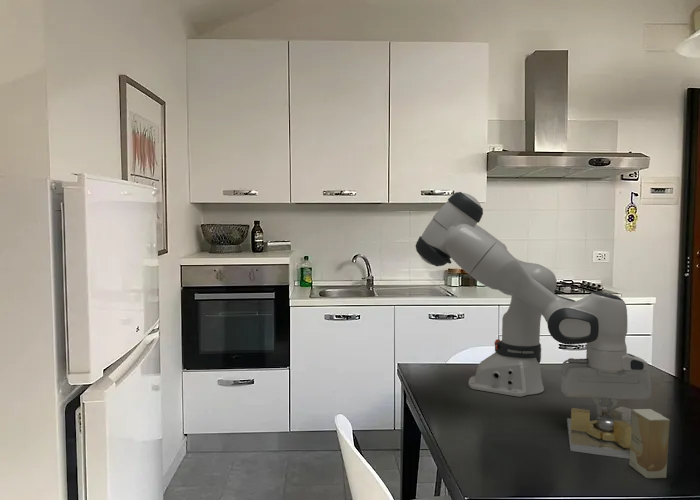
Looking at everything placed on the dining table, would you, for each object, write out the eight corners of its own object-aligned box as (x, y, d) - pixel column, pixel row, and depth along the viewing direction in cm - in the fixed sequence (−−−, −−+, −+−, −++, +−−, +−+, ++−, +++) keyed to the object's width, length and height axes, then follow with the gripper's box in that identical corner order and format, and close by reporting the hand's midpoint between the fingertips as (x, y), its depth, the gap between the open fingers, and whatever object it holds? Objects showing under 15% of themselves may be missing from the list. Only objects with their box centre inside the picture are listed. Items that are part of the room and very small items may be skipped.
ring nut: (572, 441, 122) (573, 421, 122) (569, 418, 136) (569, 400, 136) (640, 449, 117) (641, 429, 117) (629, 425, 131) (630, 407, 131)
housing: (570, 450, 121) (571, 427, 121) (567, 424, 137) (567, 403, 137) (656, 462, 116) (657, 438, 115) (642, 433, 132) (642, 411, 131)
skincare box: (628, 465, 114) (630, 408, 114) (647, 464, 115) (650, 407, 114) (647, 479, 108) (649, 419, 107) (668, 479, 108) (670, 418, 108)
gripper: (566, 361, 129) (564, 418, 130) (655, 363, 128) (653, 421, 128) (558, 355, 136) (556, 409, 136) (643, 357, 134) (641, 412, 135)
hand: (604, 415), depth 132 cm, fingers closed
